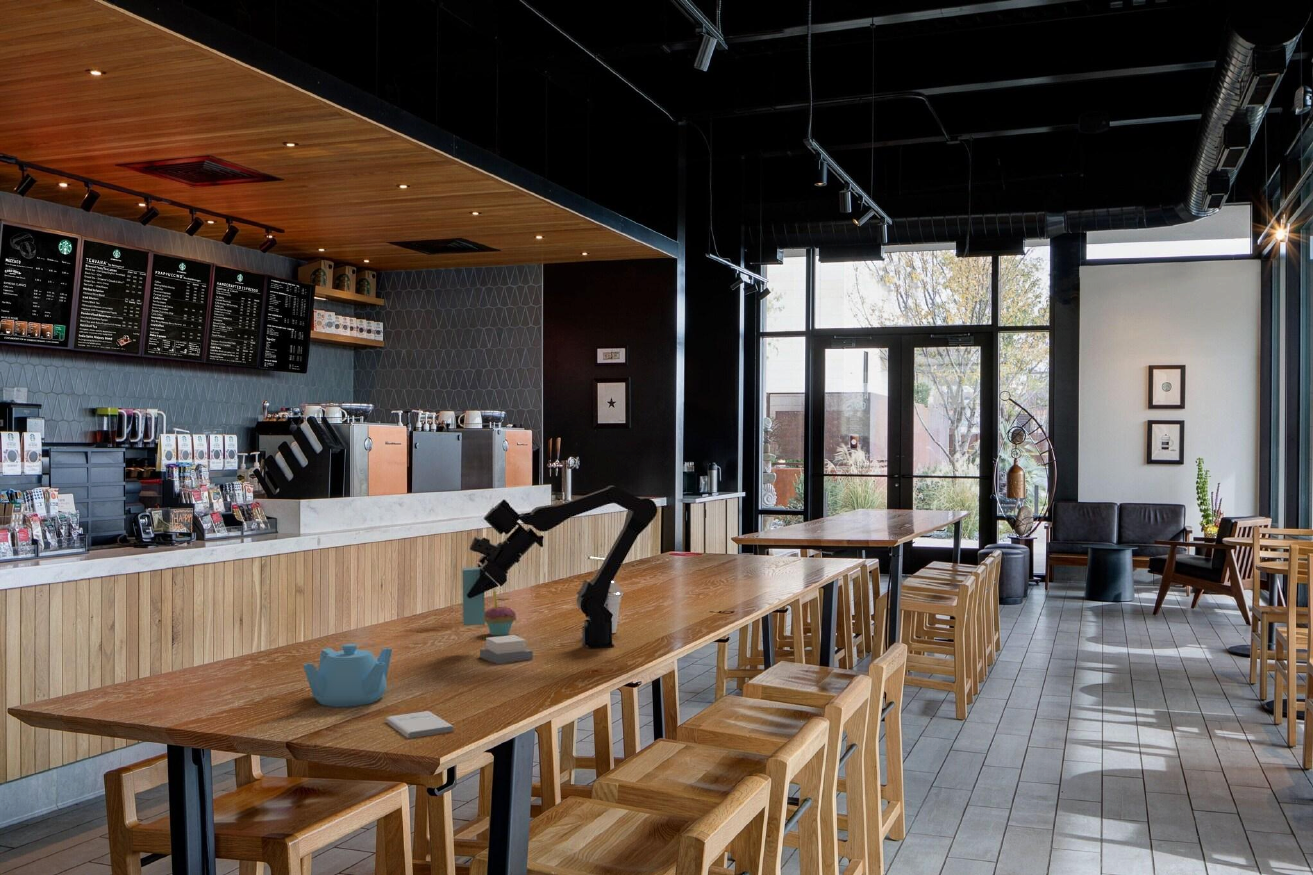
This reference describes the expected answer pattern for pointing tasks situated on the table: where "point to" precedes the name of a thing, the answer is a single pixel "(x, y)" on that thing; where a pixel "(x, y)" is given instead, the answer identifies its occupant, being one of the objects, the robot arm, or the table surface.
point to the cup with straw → (612, 599)
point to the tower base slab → (506, 656)
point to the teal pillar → (474, 605)
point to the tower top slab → (505, 644)
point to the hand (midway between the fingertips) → (467, 595)
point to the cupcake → (499, 619)
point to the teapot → (348, 676)
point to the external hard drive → (419, 724)
